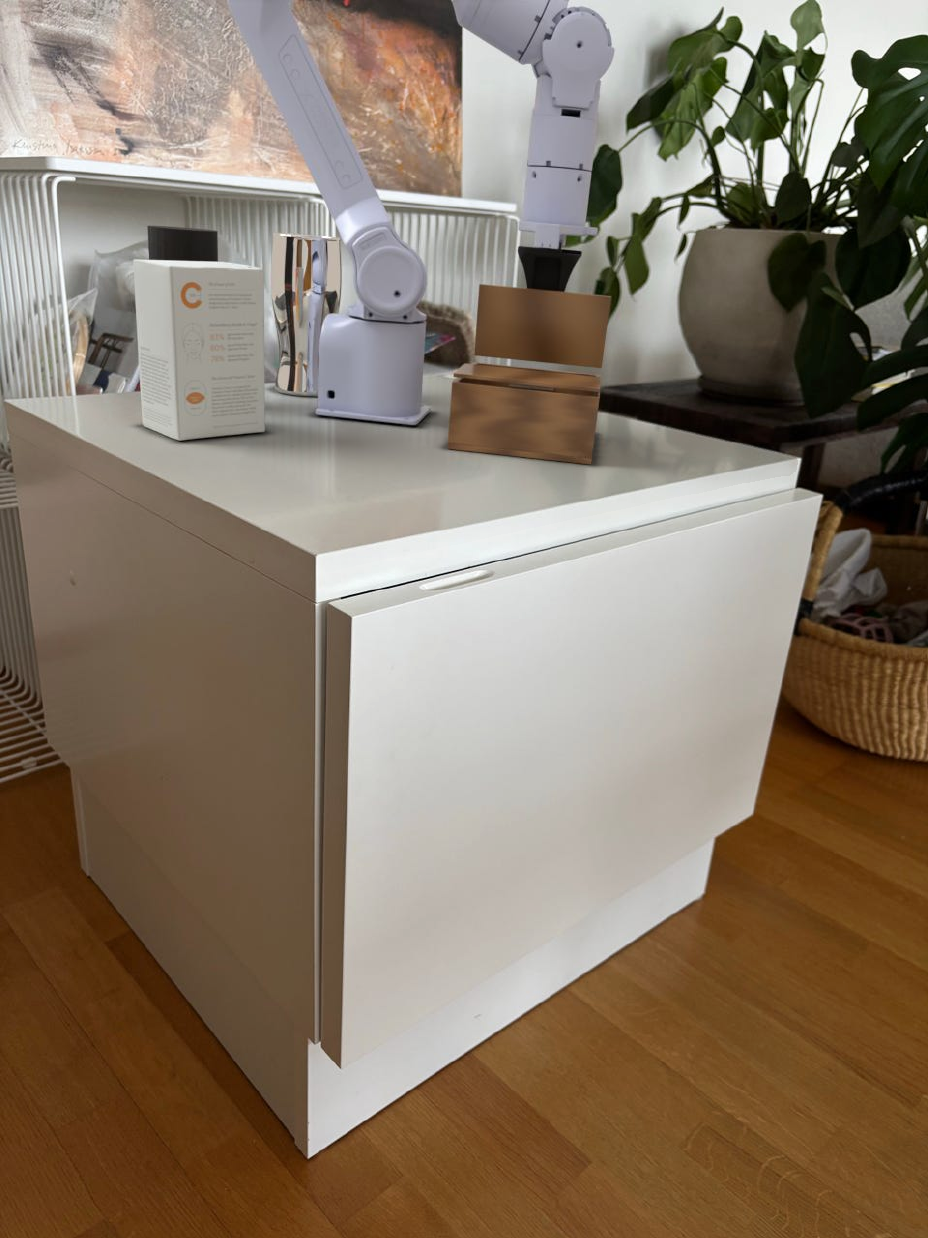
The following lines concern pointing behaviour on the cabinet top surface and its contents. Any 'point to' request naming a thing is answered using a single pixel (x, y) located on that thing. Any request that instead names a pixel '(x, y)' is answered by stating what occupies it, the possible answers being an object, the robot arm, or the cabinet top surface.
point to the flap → (541, 325)
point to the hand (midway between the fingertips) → (541, 330)
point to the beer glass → (303, 304)
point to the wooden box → (524, 412)
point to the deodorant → (182, 244)
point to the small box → (200, 347)
